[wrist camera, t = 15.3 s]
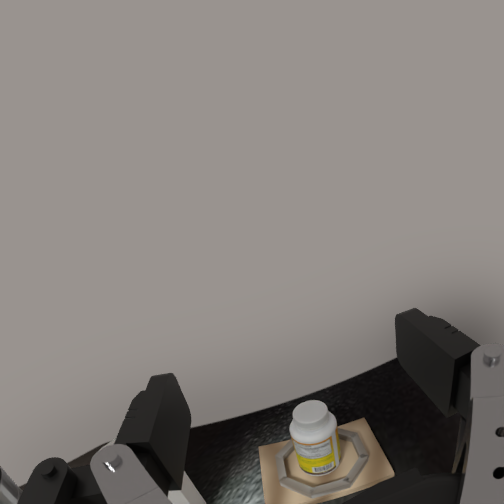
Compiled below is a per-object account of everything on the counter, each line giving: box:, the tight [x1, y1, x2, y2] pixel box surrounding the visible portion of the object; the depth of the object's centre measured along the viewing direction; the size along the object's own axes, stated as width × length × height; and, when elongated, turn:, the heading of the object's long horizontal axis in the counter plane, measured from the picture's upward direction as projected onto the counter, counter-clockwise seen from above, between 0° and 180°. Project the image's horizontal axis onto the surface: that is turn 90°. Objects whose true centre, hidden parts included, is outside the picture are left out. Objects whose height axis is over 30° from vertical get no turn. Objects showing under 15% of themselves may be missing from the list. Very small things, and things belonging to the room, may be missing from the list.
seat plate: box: [259, 418, 394, 504], centre depth 34 cm, size 16×12×2 cm
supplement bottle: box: [289, 400, 341, 476], centre depth 33 cm, size 6×6×10 cm
